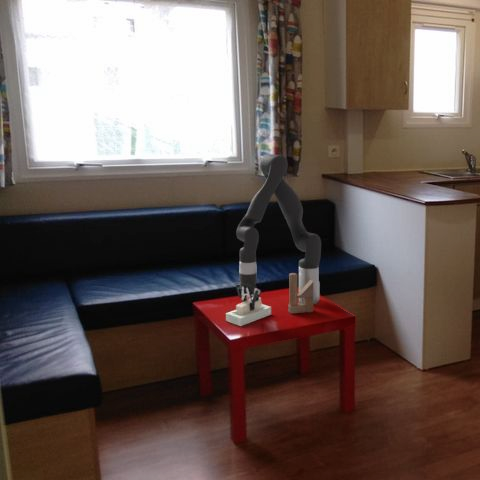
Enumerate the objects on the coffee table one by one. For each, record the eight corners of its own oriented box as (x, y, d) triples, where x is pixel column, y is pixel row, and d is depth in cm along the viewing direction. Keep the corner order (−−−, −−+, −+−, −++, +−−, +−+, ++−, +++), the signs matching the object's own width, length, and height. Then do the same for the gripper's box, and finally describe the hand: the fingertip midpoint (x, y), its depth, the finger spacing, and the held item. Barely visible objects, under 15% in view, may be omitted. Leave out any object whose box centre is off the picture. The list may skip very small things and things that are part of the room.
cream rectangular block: (256, 306, 239) (255, 295, 237) (261, 308, 236) (260, 297, 235) (237, 316, 231) (235, 305, 229) (242, 318, 228) (241, 307, 227)
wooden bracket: (313, 311, 239) (313, 273, 235) (290, 314, 237) (290, 275, 233) (310, 309, 242) (310, 271, 238) (288, 311, 240) (287, 273, 236)
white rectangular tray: (256, 309, 243) (256, 302, 242) (271, 314, 237) (271, 306, 236) (226, 320, 230) (225, 313, 230) (240, 326, 224) (240, 318, 223)
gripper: (265, 272, 227) (266, 310, 230) (242, 266, 236) (243, 303, 240) (253, 276, 221) (254, 315, 225) (230, 270, 231) (231, 307, 235)
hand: (248, 308), depth 233 cm, fingers closed on cream rectangular block, 3 cm apart
